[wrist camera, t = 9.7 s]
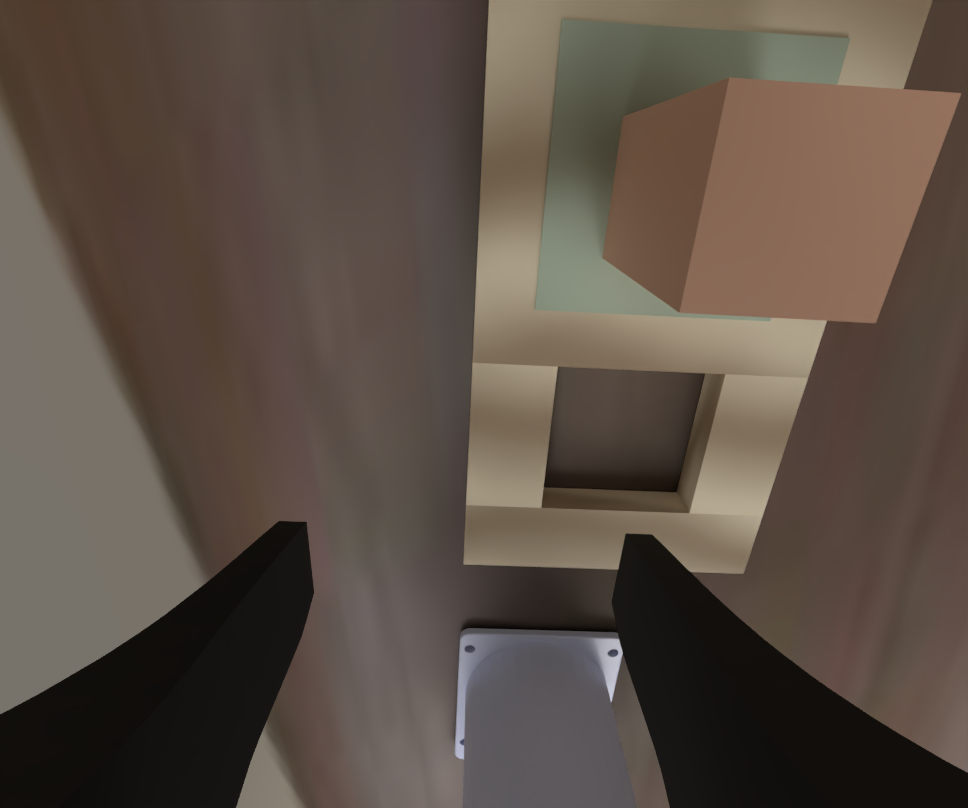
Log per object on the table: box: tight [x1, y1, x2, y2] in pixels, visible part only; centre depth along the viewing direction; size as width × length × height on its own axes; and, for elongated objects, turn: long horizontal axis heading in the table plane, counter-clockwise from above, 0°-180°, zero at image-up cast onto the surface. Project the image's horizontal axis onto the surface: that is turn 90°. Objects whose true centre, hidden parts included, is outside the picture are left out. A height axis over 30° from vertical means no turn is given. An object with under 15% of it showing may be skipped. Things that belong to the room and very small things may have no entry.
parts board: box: [463, 0, 933, 574], centre depth 19 cm, size 20×12×2 cm, turn 177°
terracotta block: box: [602, 77, 961, 323], centre depth 13 cm, size 4×4×7 cm
